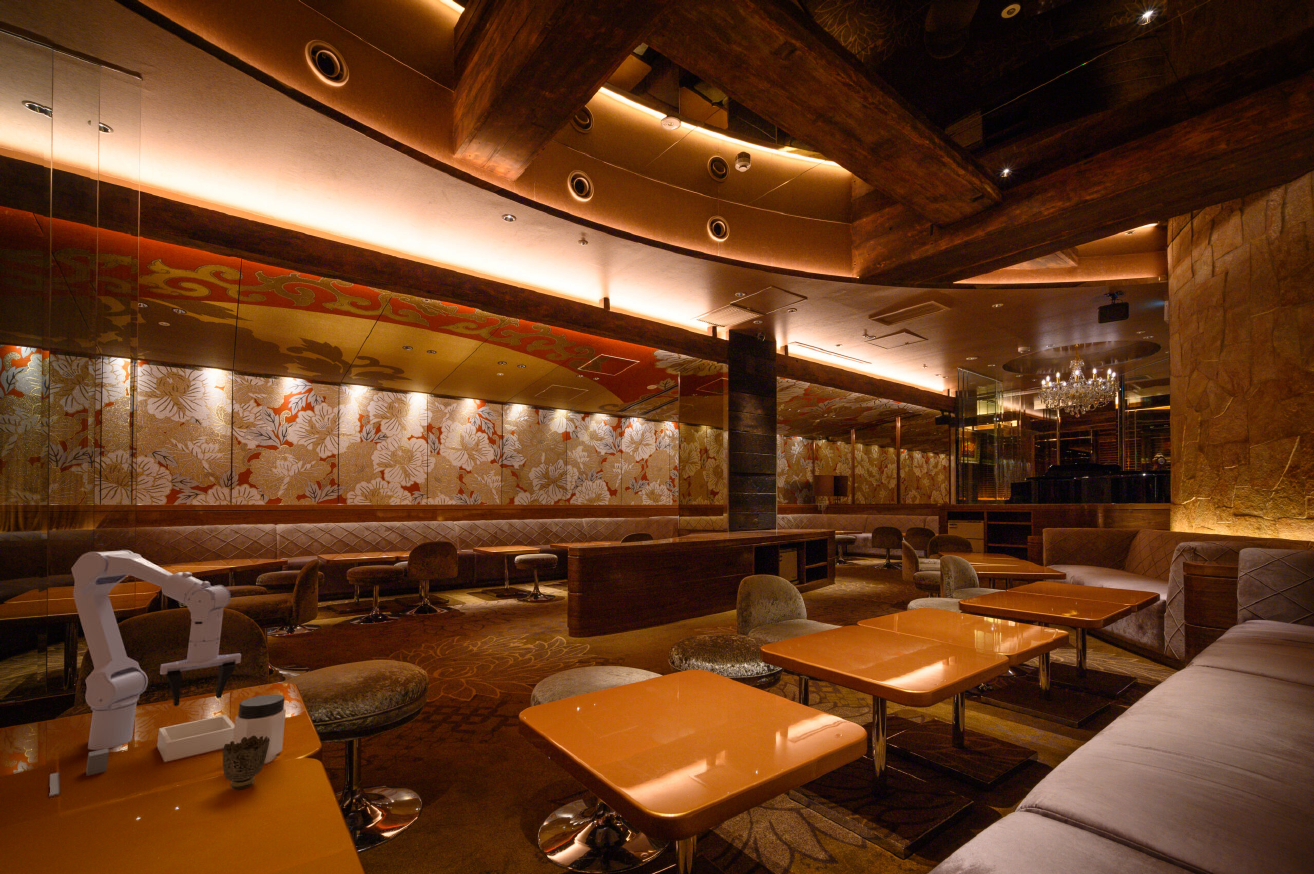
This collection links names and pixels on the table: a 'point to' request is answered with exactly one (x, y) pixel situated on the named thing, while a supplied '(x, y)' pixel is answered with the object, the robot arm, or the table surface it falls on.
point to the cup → (244, 760)
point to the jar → (262, 722)
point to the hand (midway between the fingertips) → (197, 700)
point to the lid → (94, 766)
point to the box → (194, 737)
